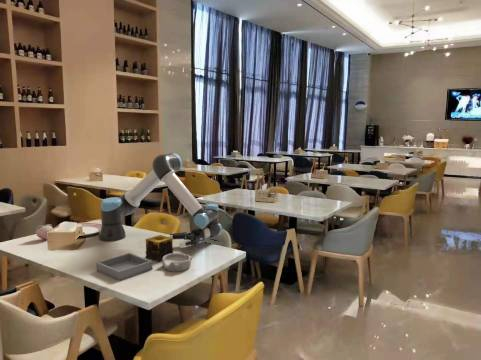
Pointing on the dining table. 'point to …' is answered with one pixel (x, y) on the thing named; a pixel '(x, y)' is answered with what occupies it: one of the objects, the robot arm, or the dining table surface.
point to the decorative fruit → (43, 231)
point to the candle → (158, 247)
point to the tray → (124, 266)
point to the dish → (176, 261)
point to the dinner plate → (91, 228)
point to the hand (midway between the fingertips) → (171, 242)
